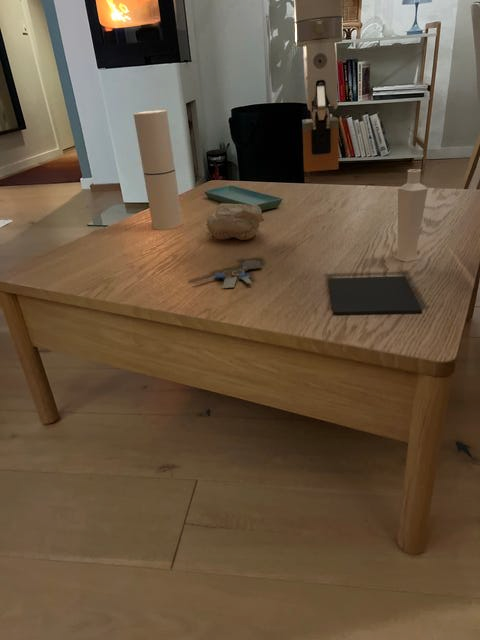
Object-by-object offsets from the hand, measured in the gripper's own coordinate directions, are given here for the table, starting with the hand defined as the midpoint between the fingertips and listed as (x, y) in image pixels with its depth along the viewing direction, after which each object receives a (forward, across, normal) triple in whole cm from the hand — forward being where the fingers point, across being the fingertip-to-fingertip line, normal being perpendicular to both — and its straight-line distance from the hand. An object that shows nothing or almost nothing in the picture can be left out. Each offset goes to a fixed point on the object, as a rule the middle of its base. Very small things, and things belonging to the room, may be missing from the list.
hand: (320, 149), depth 85 cm
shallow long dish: (+18, +36, +20) cm, 45 cm away
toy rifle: (+18, -16, +15) cm, 28 cm away
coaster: (+18, -24, -6) cm, 30 cm away
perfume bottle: (+18, -9, -14) cm, 25 cm away
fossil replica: (+18, +6, +18) cm, 26 cm away
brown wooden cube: (-1, 0, 0) cm, 1 cm away
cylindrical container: (+17, +18, +36) cm, 44 cm away
